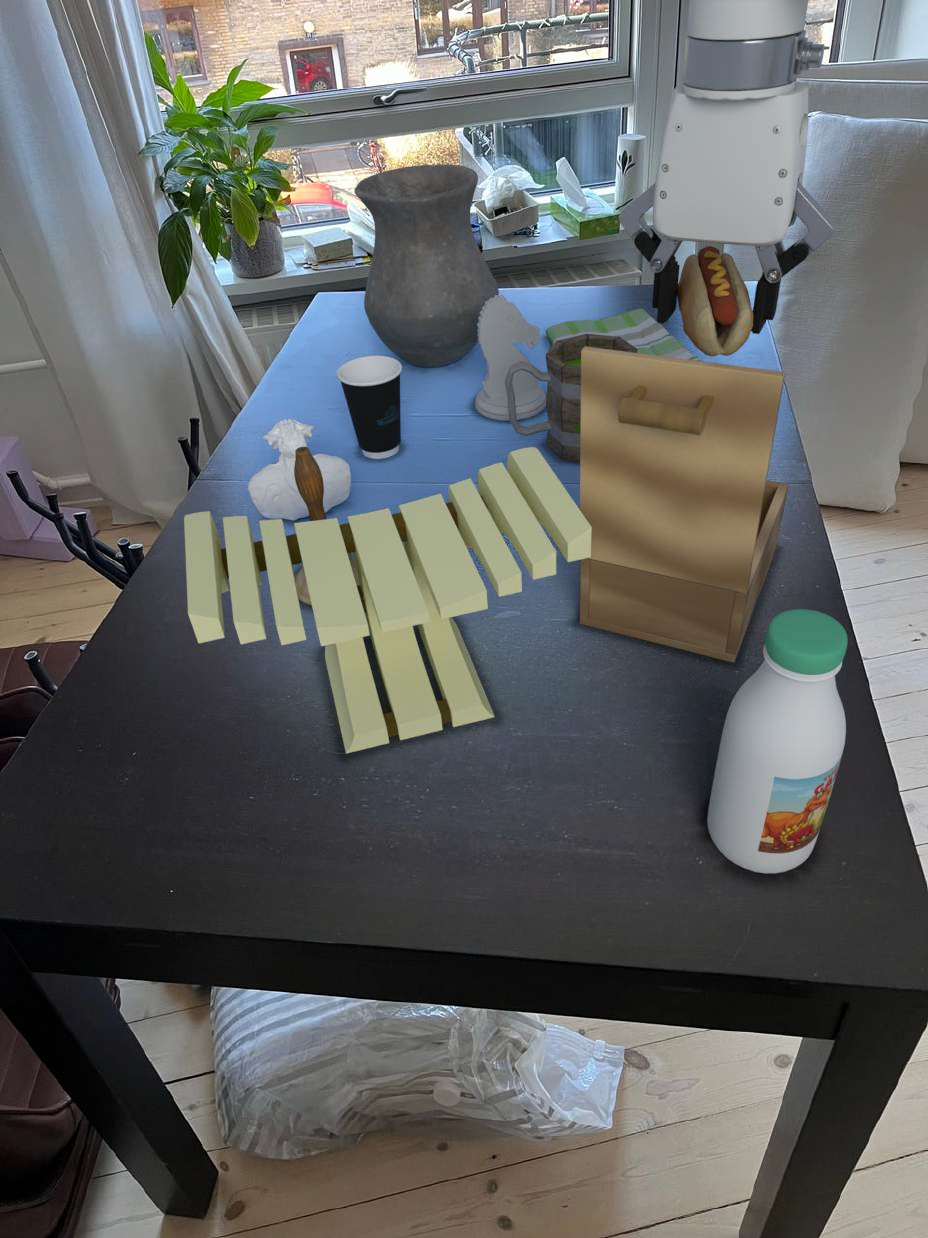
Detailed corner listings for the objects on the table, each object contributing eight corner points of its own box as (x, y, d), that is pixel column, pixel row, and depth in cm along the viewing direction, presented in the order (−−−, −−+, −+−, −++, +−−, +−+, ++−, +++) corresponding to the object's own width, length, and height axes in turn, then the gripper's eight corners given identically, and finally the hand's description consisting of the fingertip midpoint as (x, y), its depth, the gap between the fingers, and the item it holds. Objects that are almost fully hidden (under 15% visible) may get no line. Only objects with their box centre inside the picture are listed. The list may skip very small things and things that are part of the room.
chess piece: (556, 413, 118) (556, 302, 108) (485, 426, 117) (478, 314, 107) (534, 383, 126) (532, 276, 116) (467, 394, 124) (460, 287, 115)
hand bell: (345, 615, 89) (318, 478, 78) (277, 597, 92) (242, 462, 81) (386, 568, 94) (364, 434, 84) (320, 552, 97) (292, 421, 87)
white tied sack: (356, 509, 108) (333, 418, 107) (362, 501, 100) (337, 403, 99) (258, 531, 105) (234, 438, 105) (256, 525, 98) (230, 425, 97)
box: (638, 520, 98) (643, 458, 93) (776, 548, 92) (789, 483, 87) (579, 623, 85) (580, 557, 80) (734, 663, 80) (746, 594, 75)
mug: (626, 419, 115) (631, 330, 108) (638, 462, 107) (644, 368, 99) (506, 426, 116) (502, 338, 109) (508, 469, 108) (504, 377, 100)
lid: (584, 345, 67) (560, 375, 64) (785, 371, 62) (770, 405, 58) (582, 551, 80) (561, 584, 77) (748, 587, 75) (733, 625, 71)
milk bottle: (709, 872, 64) (748, 671, 51) (702, 788, 69) (736, 588, 56) (821, 882, 62) (890, 678, 50) (805, 795, 68) (863, 592, 55)
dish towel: (588, 402, 120) (589, 378, 118) (541, 338, 137) (541, 315, 135) (707, 383, 122) (710, 358, 120) (646, 321, 139) (648, 299, 137)
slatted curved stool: (529, 589, 90) (525, 431, 78) (586, 694, 78) (591, 527, 66) (233, 655, 85) (183, 498, 74) (245, 778, 73) (188, 613, 62)
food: (759, 365, 66) (769, 299, 63) (683, 367, 67) (689, 301, 64) (735, 296, 77) (743, 236, 73) (670, 298, 77) (675, 239, 74)
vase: (395, 397, 125) (371, 209, 109) (357, 349, 139) (331, 176, 123) (522, 366, 130) (517, 182, 114) (473, 323, 144) (462, 153, 128)
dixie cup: (358, 433, 118) (346, 354, 110) (416, 434, 116) (407, 355, 109) (343, 464, 112) (328, 383, 105) (404, 466, 110) (394, 383, 103)
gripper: (884, 54, 59) (831, 316, 71) (633, 55, 66) (622, 294, 77) (870, 75, 54) (815, 354, 66) (600, 74, 61) (593, 327, 72)
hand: (711, 320), depth 71 cm, fingers closed on food, 6 cm apart
